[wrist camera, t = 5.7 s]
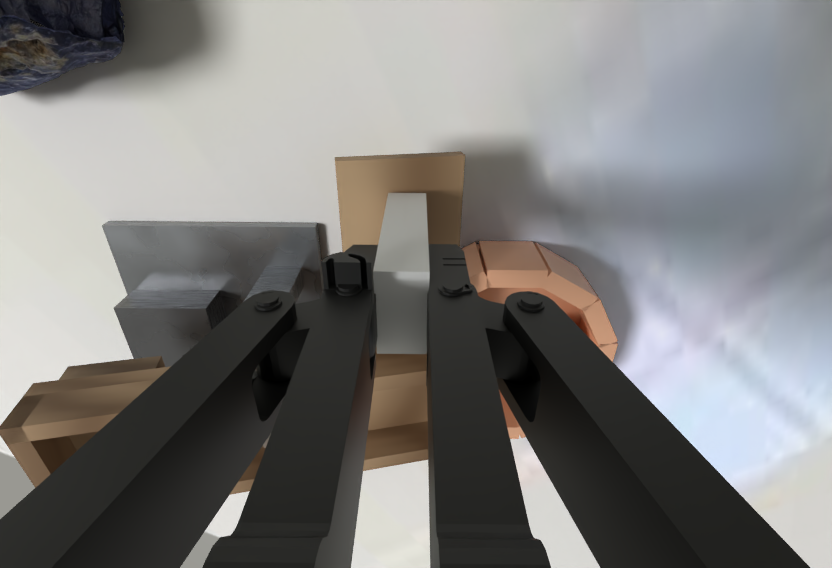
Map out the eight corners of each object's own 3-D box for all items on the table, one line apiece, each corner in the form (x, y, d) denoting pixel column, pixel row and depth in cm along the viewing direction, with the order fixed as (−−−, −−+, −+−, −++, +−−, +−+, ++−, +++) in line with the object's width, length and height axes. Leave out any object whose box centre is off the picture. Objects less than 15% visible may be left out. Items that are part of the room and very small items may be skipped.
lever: (99, 451, 23) (61, 527, 20) (-51, 162, 16) (-156, 201, 12) (437, 399, 27) (457, 456, 23) (449, 142, 19) (481, 168, 16)
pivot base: (175, 406, 31) (108, 510, 24) (108, 221, 24) (-12, 294, 17) (337, 407, 31) (315, 511, 24) (317, 222, 24) (278, 296, 17)
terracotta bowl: (399, 240, 25) (396, 269, 22) (612, 241, 25) (639, 271, 22) (401, 397, 31) (399, 437, 28) (572, 399, 31) (589, 439, 28)
